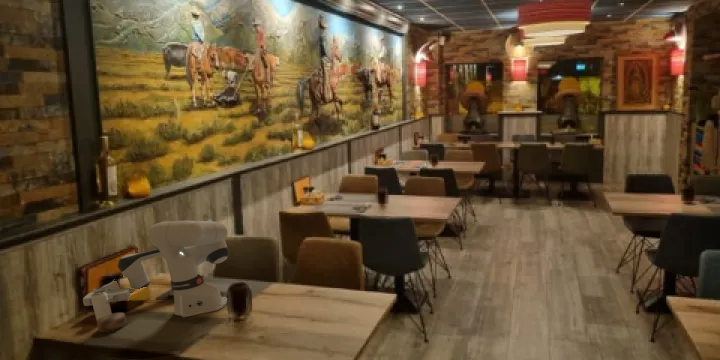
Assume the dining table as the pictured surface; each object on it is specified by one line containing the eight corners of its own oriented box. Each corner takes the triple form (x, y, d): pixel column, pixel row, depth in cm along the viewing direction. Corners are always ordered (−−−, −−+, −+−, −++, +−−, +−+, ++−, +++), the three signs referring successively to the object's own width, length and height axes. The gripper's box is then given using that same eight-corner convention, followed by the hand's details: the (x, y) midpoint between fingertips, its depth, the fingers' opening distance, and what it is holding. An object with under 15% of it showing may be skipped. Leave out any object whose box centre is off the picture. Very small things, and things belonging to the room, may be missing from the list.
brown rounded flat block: (131, 319, 244) (129, 311, 244) (120, 330, 233) (118, 321, 233) (105, 323, 245) (103, 314, 244) (93, 334, 234) (91, 325, 233)
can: (106, 321, 247) (99, 294, 246) (93, 322, 249) (86, 296, 247) (115, 315, 254) (109, 289, 252) (103, 316, 255) (96, 290, 253)
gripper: (137, 295, 263) (124, 306, 249) (93, 302, 263) (78, 313, 250) (134, 282, 262) (121, 293, 248) (90, 289, 263) (75, 299, 249)
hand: (99, 303), depth 249 cm, fingers open, 4 cm apart
